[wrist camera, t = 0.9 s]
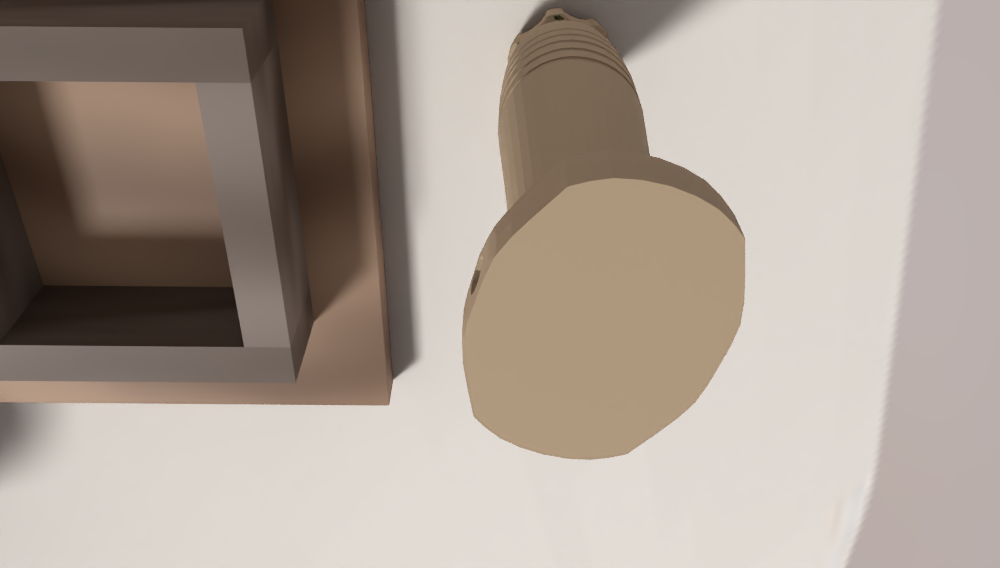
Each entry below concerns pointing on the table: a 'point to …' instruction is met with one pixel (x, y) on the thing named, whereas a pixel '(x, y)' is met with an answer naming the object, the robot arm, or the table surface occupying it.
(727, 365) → the table surface
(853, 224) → the table surface
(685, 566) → the table surface
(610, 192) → the handle
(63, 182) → the holder
